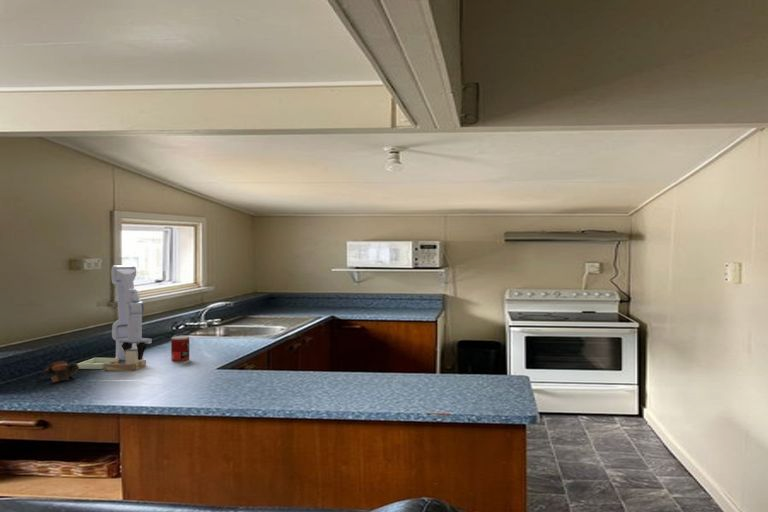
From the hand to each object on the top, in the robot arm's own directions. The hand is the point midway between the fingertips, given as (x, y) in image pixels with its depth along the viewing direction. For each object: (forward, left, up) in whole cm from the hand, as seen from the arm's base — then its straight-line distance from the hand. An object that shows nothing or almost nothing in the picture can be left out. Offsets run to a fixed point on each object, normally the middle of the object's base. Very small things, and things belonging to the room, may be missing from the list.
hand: (134, 359), depth 228 cm
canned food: (-11, +16, -3) cm, 19 cm away
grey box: (0, 0, -1) cm, 1 cm away
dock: (+7, 0, -3) cm, 8 cm away
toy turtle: (+26, -16, -3) cm, 30 cm away
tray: (+3, -14, -3) cm, 15 cm away
